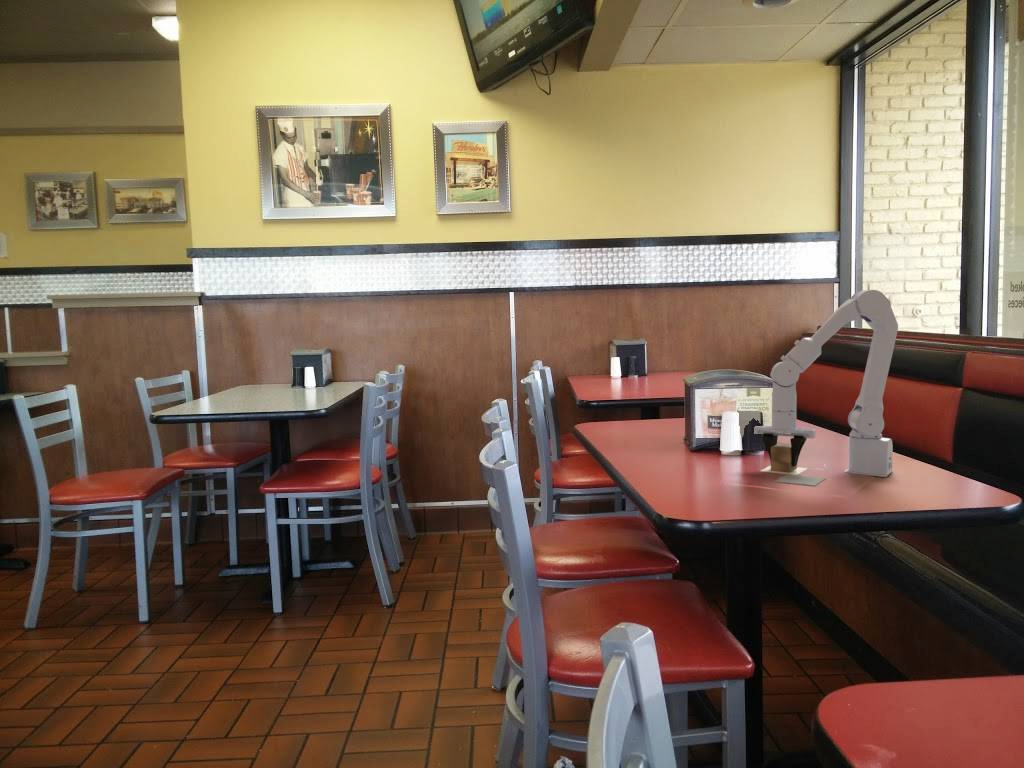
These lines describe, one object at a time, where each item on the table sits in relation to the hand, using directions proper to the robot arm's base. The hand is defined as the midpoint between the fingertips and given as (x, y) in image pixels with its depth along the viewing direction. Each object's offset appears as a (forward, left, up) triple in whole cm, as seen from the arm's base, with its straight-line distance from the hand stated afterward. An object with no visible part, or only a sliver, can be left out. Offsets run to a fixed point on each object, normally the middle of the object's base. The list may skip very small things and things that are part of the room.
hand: (783, 464), depth 191 cm
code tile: (0, 0, -2) cm, 2 cm away
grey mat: (-7, +10, -2) cm, 12 cm away
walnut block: (0, 0, -1) cm, 1 cm away
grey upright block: (+17, -22, -2) cm, 28 cm away
